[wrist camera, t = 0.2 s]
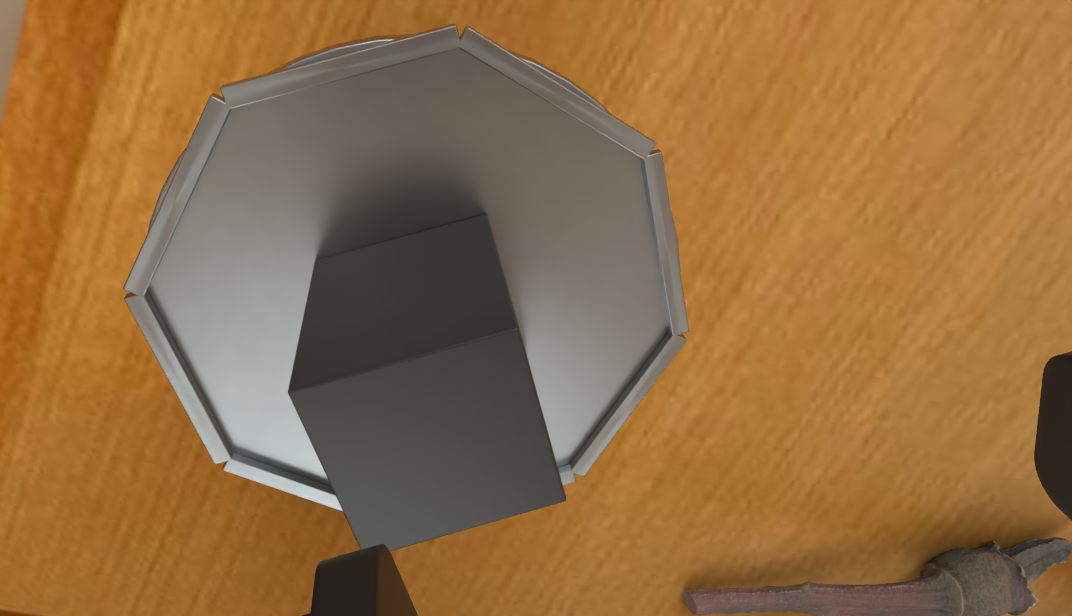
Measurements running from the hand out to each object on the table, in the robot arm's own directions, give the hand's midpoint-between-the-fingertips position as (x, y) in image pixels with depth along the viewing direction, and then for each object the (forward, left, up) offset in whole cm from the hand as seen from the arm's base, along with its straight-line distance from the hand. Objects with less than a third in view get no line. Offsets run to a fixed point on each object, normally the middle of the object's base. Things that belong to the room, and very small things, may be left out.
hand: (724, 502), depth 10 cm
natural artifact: (+31, +14, -23) cm, 41 cm away
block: (+3, -4, -12) cm, 13 cm away
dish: (+3, -4, -23) cm, 23 cm away
